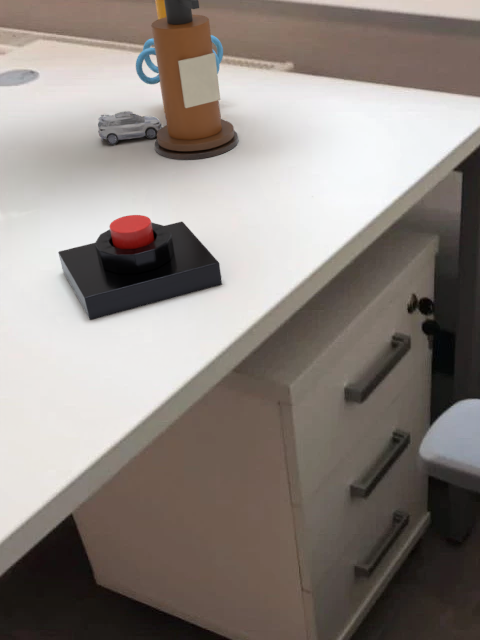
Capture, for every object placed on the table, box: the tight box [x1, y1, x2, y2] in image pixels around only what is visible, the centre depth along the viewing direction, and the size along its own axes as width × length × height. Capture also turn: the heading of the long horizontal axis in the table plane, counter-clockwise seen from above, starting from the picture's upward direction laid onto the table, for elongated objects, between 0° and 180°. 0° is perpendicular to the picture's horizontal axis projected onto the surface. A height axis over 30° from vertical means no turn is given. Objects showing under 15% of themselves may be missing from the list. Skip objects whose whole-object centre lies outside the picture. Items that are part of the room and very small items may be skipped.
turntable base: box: [154, 130, 239, 160], centre depth 106 cm, size 10×10×1 cm
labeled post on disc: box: [150, 0, 235, 151], centre depth 100 cm, size 9×9×19 cm
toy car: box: [97, 110, 164, 146], centre depth 108 cm, size 4×8×3 cm, turn 105°
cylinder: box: [135, 0, 224, 113], centre depth 111 cm, size 12×10×15 cm
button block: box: [58, 221, 223, 321], centre depth 79 cm, size 12×10×4 cm
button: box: [109, 214, 154, 249], centre depth 77 cm, size 4×4×2 cm
